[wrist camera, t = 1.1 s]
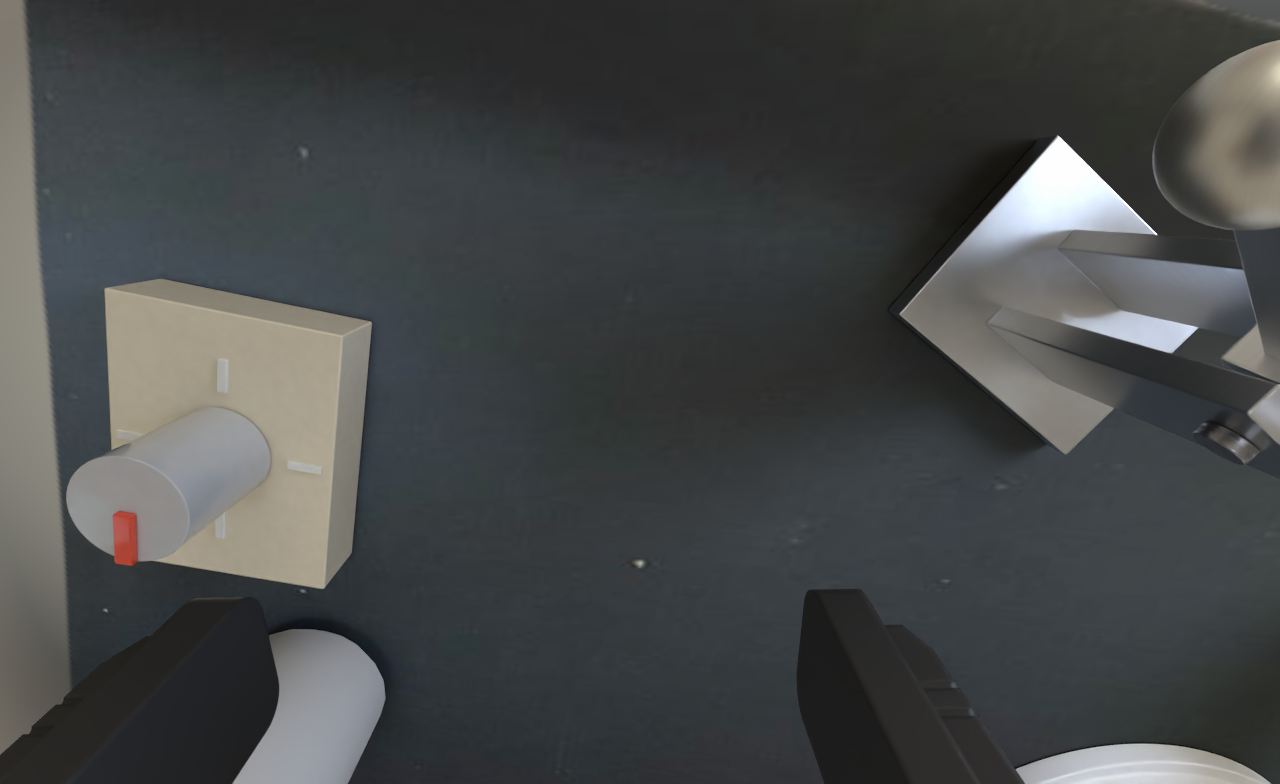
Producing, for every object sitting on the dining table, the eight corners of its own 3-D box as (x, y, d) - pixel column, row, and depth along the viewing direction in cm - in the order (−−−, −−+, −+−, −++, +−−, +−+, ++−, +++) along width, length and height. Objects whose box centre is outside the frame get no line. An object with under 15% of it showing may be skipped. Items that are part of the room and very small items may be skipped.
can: (277, 595, 31) (71, 826, 19) (413, 652, 32) (296, 901, 21) (230, 698, 33) (17, 964, 21) (361, 748, 34) (227, 1026, 23)
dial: (171, 397, 24) (53, 449, 19) (272, 417, 25) (182, 472, 20) (172, 485, 26) (61, 555, 21) (269, 503, 26) (183, 576, 21)
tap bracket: (886, 309, 27) (1100, 399, 15) (1039, 137, 25) (1429, 78, 13) (1049, 446, 29) (1349, 620, 17) (1200, 297, 27) (1665, 377, 15)
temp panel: (160, 278, 26) (99, 288, 23) (372, 321, 27) (340, 336, 24) (164, 520, 30) (112, 557, 26) (352, 553, 30) (322, 592, 27)
